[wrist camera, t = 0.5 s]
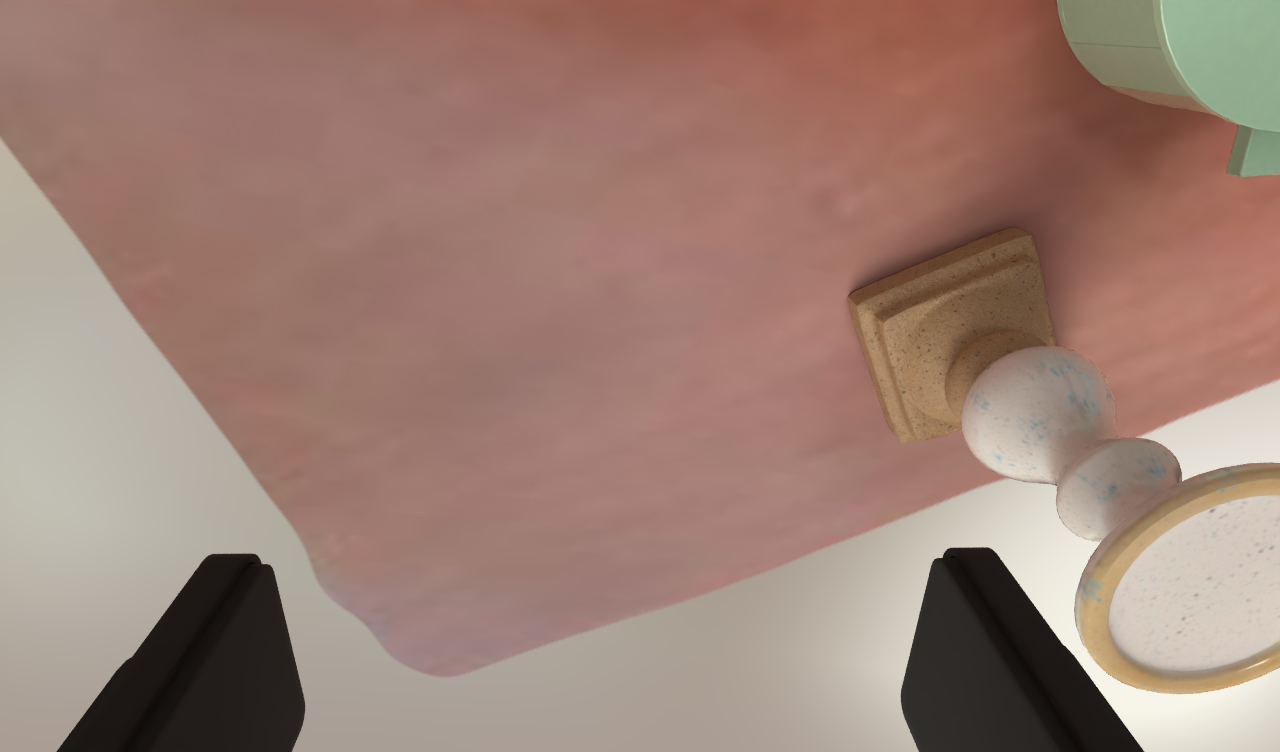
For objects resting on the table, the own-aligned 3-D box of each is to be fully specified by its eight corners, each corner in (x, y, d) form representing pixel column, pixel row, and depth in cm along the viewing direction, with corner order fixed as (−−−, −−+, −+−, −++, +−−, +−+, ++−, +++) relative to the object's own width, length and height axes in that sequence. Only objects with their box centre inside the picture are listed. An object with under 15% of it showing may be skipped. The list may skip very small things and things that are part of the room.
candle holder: (890, 433, 51) (1097, 738, 30) (844, 294, 47) (1049, 536, 25) (1050, 372, 50) (1391, 648, 28) (1018, 222, 45) (1396, 414, 24)
